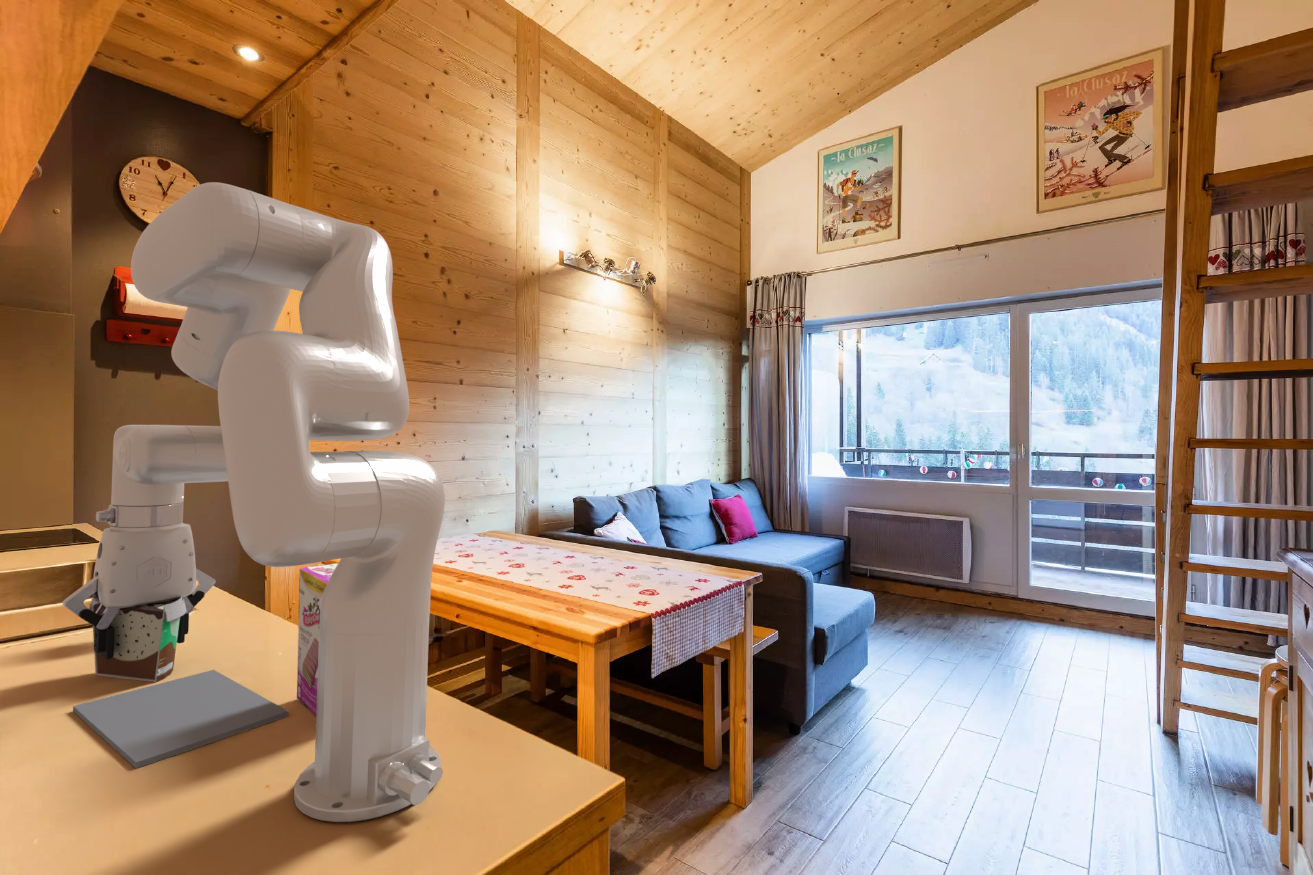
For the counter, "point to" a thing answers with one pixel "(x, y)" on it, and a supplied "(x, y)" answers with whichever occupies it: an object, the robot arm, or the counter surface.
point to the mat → (176, 716)
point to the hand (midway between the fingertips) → (142, 647)
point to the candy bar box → (310, 630)
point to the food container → (142, 641)
